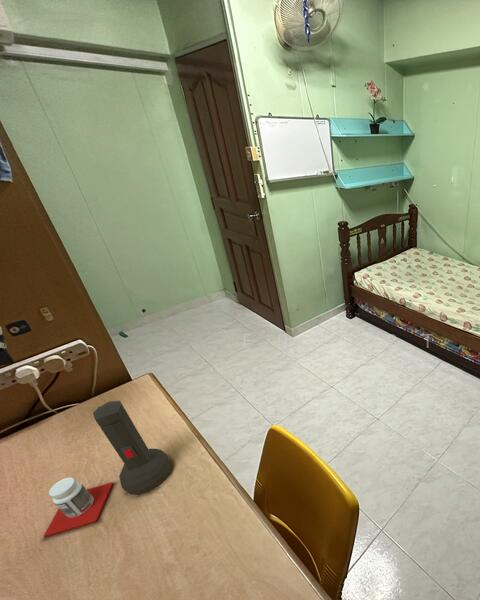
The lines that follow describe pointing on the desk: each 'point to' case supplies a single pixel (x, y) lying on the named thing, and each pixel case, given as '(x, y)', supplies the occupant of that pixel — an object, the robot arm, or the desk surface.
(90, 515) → the red pad
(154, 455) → the flashlight
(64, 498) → the pill bottle
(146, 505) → the desk surface
